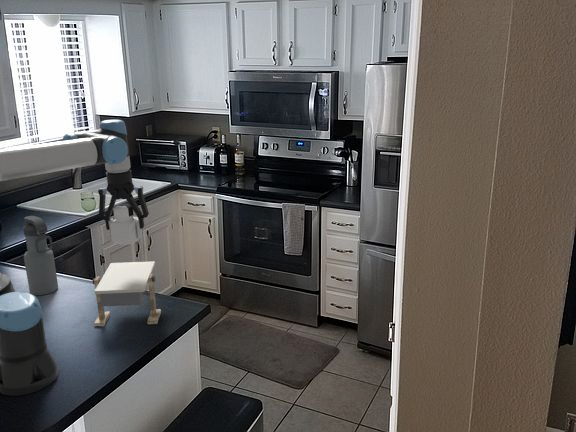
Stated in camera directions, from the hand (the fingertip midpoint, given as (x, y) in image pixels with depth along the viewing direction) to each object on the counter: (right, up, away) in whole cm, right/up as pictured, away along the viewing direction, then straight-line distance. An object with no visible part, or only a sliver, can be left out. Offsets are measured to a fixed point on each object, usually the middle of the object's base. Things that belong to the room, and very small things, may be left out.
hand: (126, 238), depth 178 cm
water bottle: (-37, -20, +24) cm, 49 cm away
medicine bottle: (0, -1, 0) cm, 1 cm away
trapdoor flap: (0, -17, +2) cm, 17 cm away
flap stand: (0, -27, +1) cm, 27 cm away
